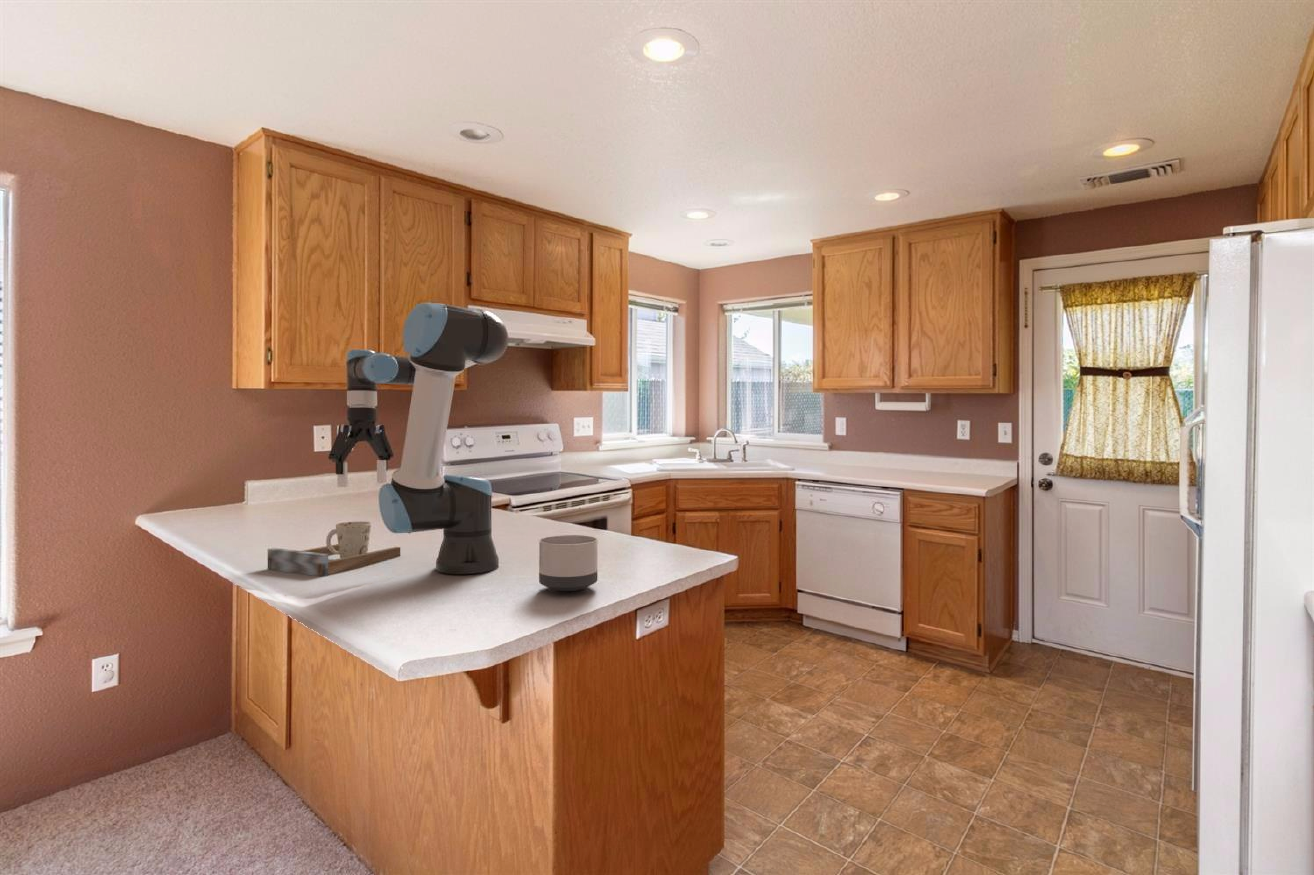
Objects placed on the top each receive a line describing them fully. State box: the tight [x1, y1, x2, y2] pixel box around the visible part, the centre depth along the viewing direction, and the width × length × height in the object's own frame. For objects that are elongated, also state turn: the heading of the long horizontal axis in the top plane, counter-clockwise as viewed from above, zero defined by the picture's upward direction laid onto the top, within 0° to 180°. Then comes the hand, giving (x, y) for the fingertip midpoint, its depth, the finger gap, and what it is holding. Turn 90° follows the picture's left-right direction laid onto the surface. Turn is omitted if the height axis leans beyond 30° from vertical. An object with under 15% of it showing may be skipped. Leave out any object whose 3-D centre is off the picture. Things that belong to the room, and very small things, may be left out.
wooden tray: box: [267, 543, 401, 577], centre depth 170 cm, size 19×24×5 cm
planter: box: [538, 534, 599, 592], centre depth 146 cm, size 13×13×10 cm
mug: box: [325, 521, 372, 559], centre depth 173 cm, size 8×13×10 cm, turn 78°
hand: (362, 485), depth 180 cm, fingers open, 13 cm apart
